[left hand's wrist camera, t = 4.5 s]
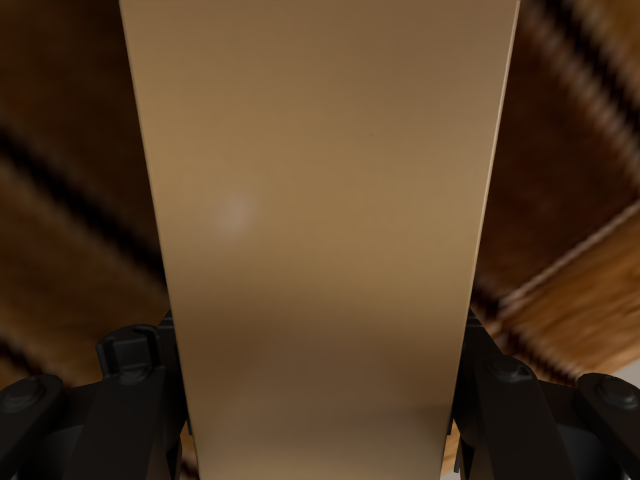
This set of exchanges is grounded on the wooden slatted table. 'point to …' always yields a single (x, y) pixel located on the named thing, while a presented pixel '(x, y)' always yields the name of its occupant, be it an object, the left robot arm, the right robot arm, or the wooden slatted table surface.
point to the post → (319, 219)
